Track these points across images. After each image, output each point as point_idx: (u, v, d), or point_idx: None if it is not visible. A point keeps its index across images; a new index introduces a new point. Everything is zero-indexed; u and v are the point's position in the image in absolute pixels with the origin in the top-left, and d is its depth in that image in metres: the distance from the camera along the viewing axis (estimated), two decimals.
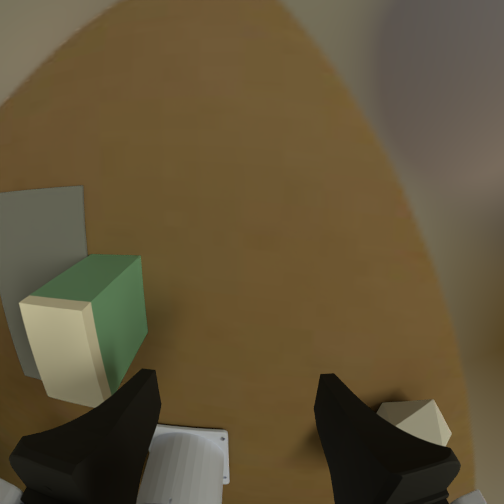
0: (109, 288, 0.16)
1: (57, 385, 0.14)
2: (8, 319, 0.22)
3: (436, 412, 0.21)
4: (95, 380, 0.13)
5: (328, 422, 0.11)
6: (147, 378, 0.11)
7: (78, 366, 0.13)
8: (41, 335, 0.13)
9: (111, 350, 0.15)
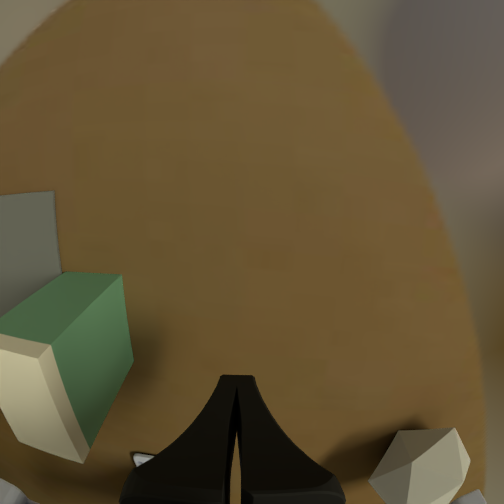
0: (77, 322, 0.12)
1: (26, 432, 0.10)
2: None
3: (457, 442, 0.17)
4: (65, 434, 0.10)
5: (238, 425, 0.10)
6: (235, 384, 0.11)
7: (44, 417, 0.09)
8: (0, 379, 0.09)
9: (84, 395, 0.12)
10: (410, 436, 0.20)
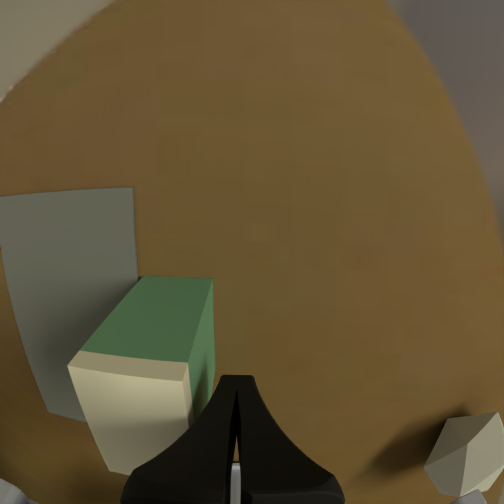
0: (197, 333, 0.12)
1: (126, 461, 0.10)
2: (27, 351, 0.18)
3: (501, 424, 0.17)
4: None
5: (238, 425, 0.10)
6: (236, 384, 0.11)
7: (165, 444, 0.09)
8: (106, 408, 0.09)
9: (199, 411, 0.12)
10: (460, 422, 0.20)
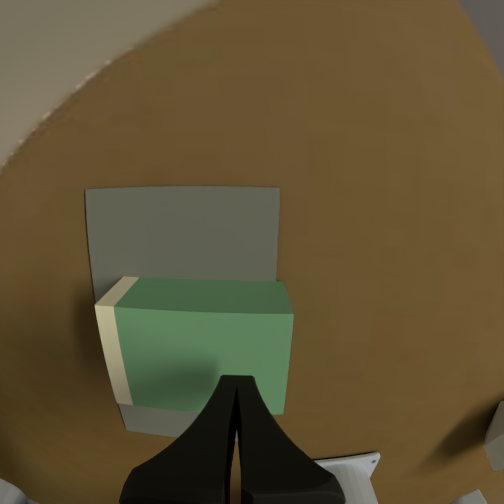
0: (162, 314, 0.13)
1: None
2: None
3: None
4: (109, 372, 0.14)
5: (238, 425, 0.10)
6: (235, 384, 0.11)
7: None
8: None
9: (147, 371, 0.14)
10: None
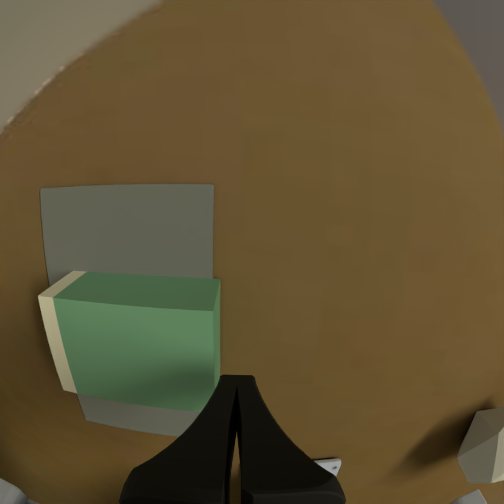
0: (92, 306, 0.13)
1: None
2: None
3: None
4: (55, 360, 0.14)
5: (238, 425, 0.10)
6: (235, 384, 0.11)
7: None
8: None
9: (85, 360, 0.14)
10: (488, 414, 0.20)
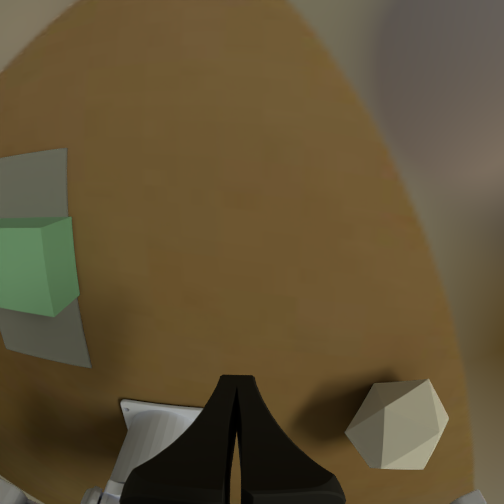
0: None
1: None
2: None
3: (432, 393, 0.20)
4: None
5: (238, 425, 0.10)
6: (235, 384, 0.11)
7: None
8: None
9: None
10: (384, 387, 0.23)
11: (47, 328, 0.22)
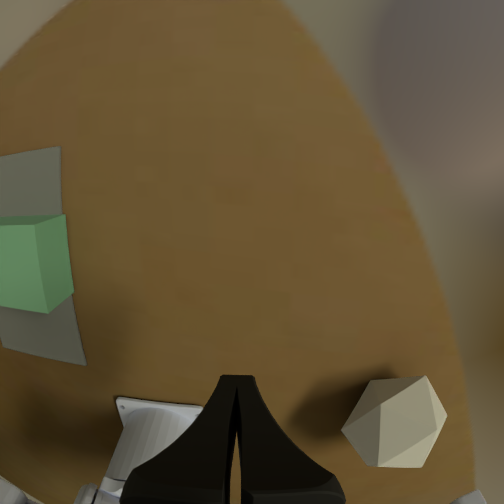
0: None
1: None
2: None
3: (429, 389, 0.20)
4: None
5: (238, 425, 0.10)
6: (235, 384, 0.11)
7: None
8: None
9: None
10: (381, 384, 0.23)
11: (43, 326, 0.22)
